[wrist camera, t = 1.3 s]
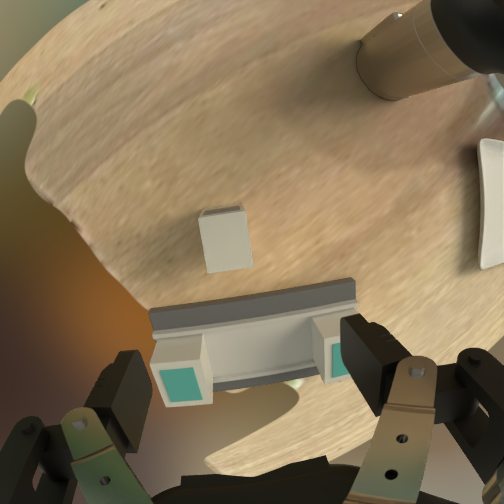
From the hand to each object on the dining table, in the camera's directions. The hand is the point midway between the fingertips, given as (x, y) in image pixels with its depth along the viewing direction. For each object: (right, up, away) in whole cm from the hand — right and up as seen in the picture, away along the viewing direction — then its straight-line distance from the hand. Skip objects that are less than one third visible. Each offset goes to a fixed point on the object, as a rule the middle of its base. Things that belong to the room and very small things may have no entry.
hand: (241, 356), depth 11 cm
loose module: (-3, +7, +25) cm, 26 cm away
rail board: (+1, -8, +30) cm, 31 cm away
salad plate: (+46, +13, +29) cm, 56 cm away
